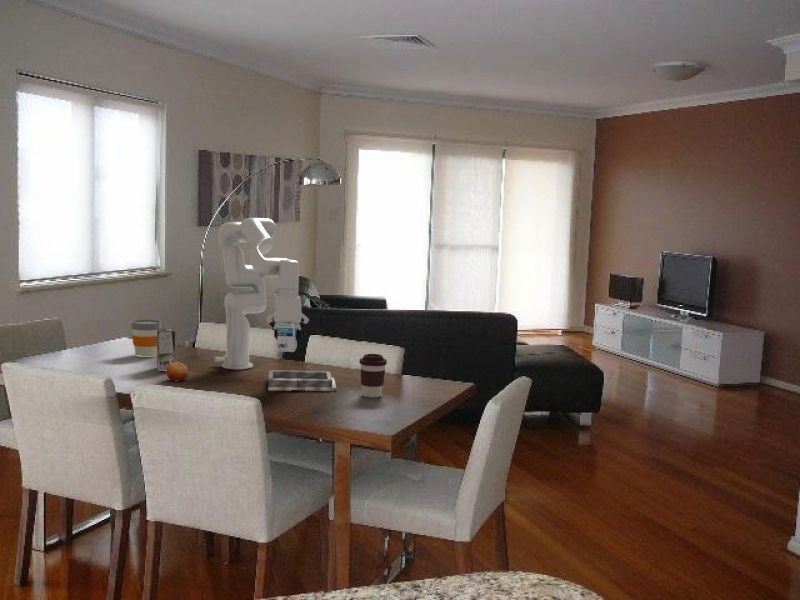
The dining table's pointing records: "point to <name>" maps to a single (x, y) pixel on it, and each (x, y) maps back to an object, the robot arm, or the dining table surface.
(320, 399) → the dining table surface
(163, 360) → the coffee box
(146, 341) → the reusable coffee cup
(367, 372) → the coffee cup
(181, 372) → the fruit
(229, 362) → the robot arm
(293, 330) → the light bulb box
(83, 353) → the dining table surface
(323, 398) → the dining table surface
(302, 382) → the gray shallow tray
